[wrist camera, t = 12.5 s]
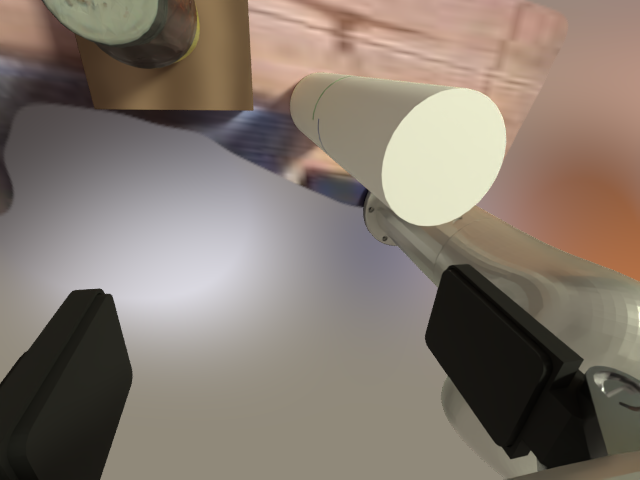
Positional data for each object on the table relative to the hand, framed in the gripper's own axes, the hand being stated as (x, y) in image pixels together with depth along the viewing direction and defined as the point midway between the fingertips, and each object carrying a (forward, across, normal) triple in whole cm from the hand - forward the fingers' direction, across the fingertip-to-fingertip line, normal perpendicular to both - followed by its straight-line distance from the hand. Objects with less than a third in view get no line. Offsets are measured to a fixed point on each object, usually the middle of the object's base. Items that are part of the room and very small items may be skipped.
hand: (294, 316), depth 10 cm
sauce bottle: (+28, +7, -9) cm, 30 cm away
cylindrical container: (+33, -8, -3) cm, 34 cm away
